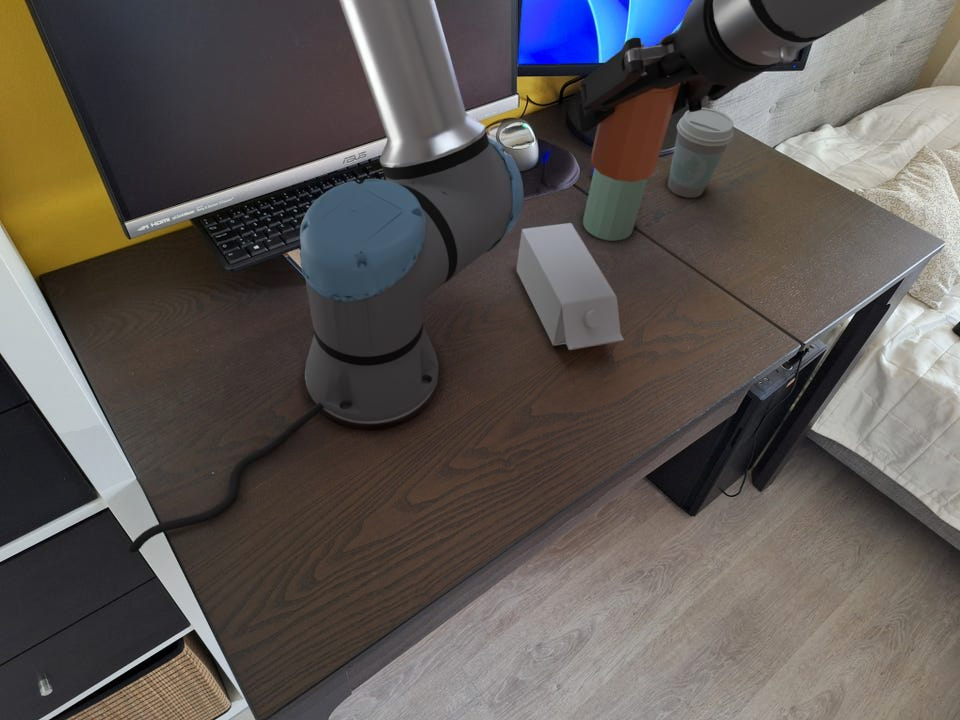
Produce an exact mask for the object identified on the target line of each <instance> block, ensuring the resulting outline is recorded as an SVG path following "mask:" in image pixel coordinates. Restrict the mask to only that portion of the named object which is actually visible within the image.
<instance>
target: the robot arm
mask: <svg viewBox="0 0 960 720" xmlns="http://www.w3.org/2000/svg"><path fill="white" fill-rule="evenodd" d="M338 1H339V4H340V7H341V11H342V13H343V17H344V19H345V21H346V25H347V27H348V30H349V33H350V35H351V38H352V41H353V44H354V47H355V50H356V53H357V56H358V58H359V61H360V65H361V67H362V70H363V73H364V76H365V79H366V82H367V85H368V88H369V90H370V93H371V96H372V100H373V102H374V104H375V107H376V110H377V114H378V117H379V119H380V122H381V124H382V128H383V131H384V134H385V137H386V142H385V145H384V147H383V150H382V151H381V154H380V157H379V162H380V166H381V169H382V172H383V175H384V177H385V179H381V178H365V179H364V181H363V182H362V183H357V181H355V180H350V181H346V182H344V183H341V184H338V185H336V186H334V187H332V188H330V189H329V190H326V191H325V192H324V193H322V194H321V195H320V196H319V197H318V198H317V199H315V200H314V201H313V203H312V204H311V205H310V206H309V208H308V209H307V211H306V212H305V213H304V216H303V219H302V221H301V224H300V230H299V243H300V253H299V257H300V268H301V273H302V275H303V277H304V279H305V286H306V291H307V298H308V303H309V304H308V305H309V308H310V309H309V310H310V316H311V321H312V328H313V332H314V334H313V337H312V340H311V344H310V348H309V351H308V354H307V358H306V361H305V369H304V380H305V386H306V390H307V393H308V397H309V399H310V401H311V402H312V404H313V407H311V408H309V410H307V411H306V412H305V413H303V415H301V416H300V417H299V418H298V419H296V420H295V421H294V422H292V423H291V424H290V425H289V426H288V427H287V428H286V429H285V430H284V431H282V432H281V433H280V434H279V435H278V436H277V437H275V438H274V439H273V440H272V441H270V442H269V443H268V444H266V445H264V446H263V447H261V448H260V449H257V450H256V451H254V452H252V453H250V454H248V455H246V456H245V457H243V458H242V459H240V461H238V463H237V464H236V465H235V466H234V467H233V470H232V471H231V474H230V478H229V485H228V486H229V487H228V492H227V494H226V496H225V497H224V499H222V501H220V503H218V504H217V505H215V506H213V507H212V508H210V509H208V510H206V511H203V512H200V513H197V514H193V515H188V516H185V517H180V518H176V519H171V520H167V521H164V522H160V523H158V524H155V525H153V526H152V527H149V528H147V529H146V530H144V531H143V532H142V533H141V534H140V535H138V536H137V537H136V538H135V539H134V540H133V541H132V543H131V545H130V546H129V550H128V551H129V552H130V553H132V554H133V553H137V552H138V551H140V549H141V548H142V547H143V546H144V544H146V543H147V541H150V539H151V538H153V537H155V536H157V535H159V534H162V533H165V532H168V531H173V530H177V529H181V528H184V527H190V526H193V525H197V524H201V523H204V522H207V521H209V520H212V519H214V518H216V517H218V516H220V515H221V514H223V513H224V512H225V511H226V510H227V509H229V508H230V507H231V506H232V504H234V502H235V500H236V498H237V495H238V493H239V492H238V491H239V483H240V478H241V475H242V473H243V472H244V470H245V469H246V468H247V467H248V466H249V465H251V464H252V463H254V462H256V461H258V460H260V459H262V458H264V457H266V456H267V455H269V454H271V453H272V452H274V450H276V449H278V448H279V447H280V446H281V445H283V443H285V442H286V441H287V440H289V438H290V437H292V435H294V434H295V433H296V432H297V431H298V430H300V429H301V428H302V427H303V426H305V425H306V424H307V423H309V421H310V420H312V419H313V418H314V417H315V416H316V415H318V414H319V413H321V414H322V415H323V416H325V418H327V419H329V420H331V421H333V422H335V423H337V424H339V425H341V426H343V427H344V426H345V427H348V428H353V429H359V430H380V429H385V428H391V427H395V426H397V425H400V424H403V423H405V422H407V421H409V420H411V419H412V418H414V417H416V416H417V415H418V414H420V413H421V412H422V411H424V410H425V409H426V408H427V406H428V405H429V404H430V402H431V401H432V400H433V398H434V396H435V394H436V391H437V388H438V385H439V372H440V371H439V370H440V369H439V368H440V367H439V361H438V356H437V353H436V351H435V348H434V346H433V344H432V342H431V339H430V337H429V335H428V334H427V331H426V329H425V326H424V303H425V301H426V299H427V298H428V297H429V296H430V295H432V294H433V293H434V292H435V291H437V290H438V289H439V288H441V287H442V286H443V285H444V284H446V283H447V282H449V281H450V280H451V279H453V278H454V277H455V276H457V275H458V274H459V273H460V272H462V271H463V270H464V269H466V268H467V267H468V266H469V265H472V263H473V262H475V261H476V260H477V259H479V258H480V257H481V256H482V255H484V254H485V253H488V252H490V251H492V250H493V249H494V248H496V247H497V246H498V245H499V244H500V243H501V242H502V240H503V239H504V238H505V237H506V236H507V235H508V234H509V233H510V232H511V231H512V230H513V229H514V227H515V226H516V225H517V223H518V221H519V219H520V217H521V214H522V211H523V207H524V198H525V197H524V195H525V193H524V185H523V180H522V179H523V178H522V175H521V172H520V170H519V167H518V165H517V163H516V161H515V160H514V158H513V156H512V155H511V154H507V153H505V147H504V146H503V145H502V144H501V143H500V142H498V141H497V140H495V139H493V138H490V137H489V136H488V132H487V129H486V125H485V124H483V123H482V122H480V121H479V120H476V119H475V118H473V117H471V116H470V115H469V114H468V113H467V111H466V108H465V105H464V104H465V103H464V101H463V97H462V94H461V90H460V87H459V83H458V79H457V76H456V72H455V68H454V66H453V62H452V58H451V54H450V51H449V47H448V43H447V41H446V37H445V33H444V30H443V26H442V23H441V19H440V15H439V12H438V8H437V5H436V2H435V0H338ZM887 1H888V0H692V1H691V2H690V3H689V6H688V7H687V8H686V11H685V13H684V16H683V18H682V21H681V23H680V26H679V27H678V29H677V30H675V31H673V32H672V33H670V34H667V35H665V36H664V37H663V38H661V39H660V41H659V42H658V43H657V44H655V45H650V46H645V43H643V42H642V39H641V37H631V38H630V39H627V40H626V41H625V42H624V43H623V46H622V48H621V49H620V50H619V51H618V52H616V53H615V54H614V55H613V56H611V57H610V58H609V59H608V60H606V61H605V62H604V63H602V64H601V65H600V66H599V67H597V68H596V69H595V70H593V71H592V72H591V73H589V74H588V75H587V76H586V77H584V78H583V79H582V80H580V83H579V84H580V93H581V102H580V103H579V104H578V105H577V107H578V115H579V123H580V132H581V133H587V132H588V133H589V132H590V131H591V130H592V129H594V128H595V127H596V126H598V124H599V123H600V122H602V121H603V120H604V119H606V118H607V117H608V116H610V115H611V114H612V113H614V112H615V108H614V107H615V106H617V105H619V104H621V103H624V102H626V101H628V100H630V99H632V98H635V97H637V96H639V95H641V94H643V93H645V92H648V91H650V90H652V89H654V88H655V89H668V88H670V87H672V86H674V85H677V84H679V83H680V87H679V90H678V94H677V97H676V100H675V104H674V107H673V111H672V114H671V116H673V115H675V114H676V113H678V112H679V111H681V110H683V109H684V108H686V107H687V105H688V110H689V112H695V111H699V110H701V109H702V108H703V105H702V100H703V99H704V98H705V97H708V98H707V99H708V101H710V102H711V101H712V102H716V101H718V100H720V99H722V98H723V97H725V96H726V95H727V94H729V93H730V92H732V91H733V90H734V89H736V88H737V87H739V86H740V85H743V84H744V83H747V82H749V81H751V80H752V79H754V78H756V77H758V76H759V75H761V74H763V73H764V72H766V71H767V70H770V69H771V68H773V67H774V66H776V65H777V64H779V62H781V63H783V64H788V63H792V62H793V61H795V59H796V58H797V57H796V56H797V52H799V51H801V50H802V49H804V48H806V47H807V46H809V45H810V44H812V43H814V42H816V41H817V40H820V39H821V38H823V37H825V36H826V35H828V34H830V33H832V32H834V31H836V30H837V29H839V28H841V27H842V26H845V25H846V24H848V23H850V22H852V21H853V20H856V19H857V18H858V17H861V16H862V15H864V14H866V13H867V12H869V11H871V10H872V9H874V8H876V7H878V6H880V5H881V4H883V3H885V2H887ZM667 75H668V76H667ZM684 82H685V83H684Z"/></svg>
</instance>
